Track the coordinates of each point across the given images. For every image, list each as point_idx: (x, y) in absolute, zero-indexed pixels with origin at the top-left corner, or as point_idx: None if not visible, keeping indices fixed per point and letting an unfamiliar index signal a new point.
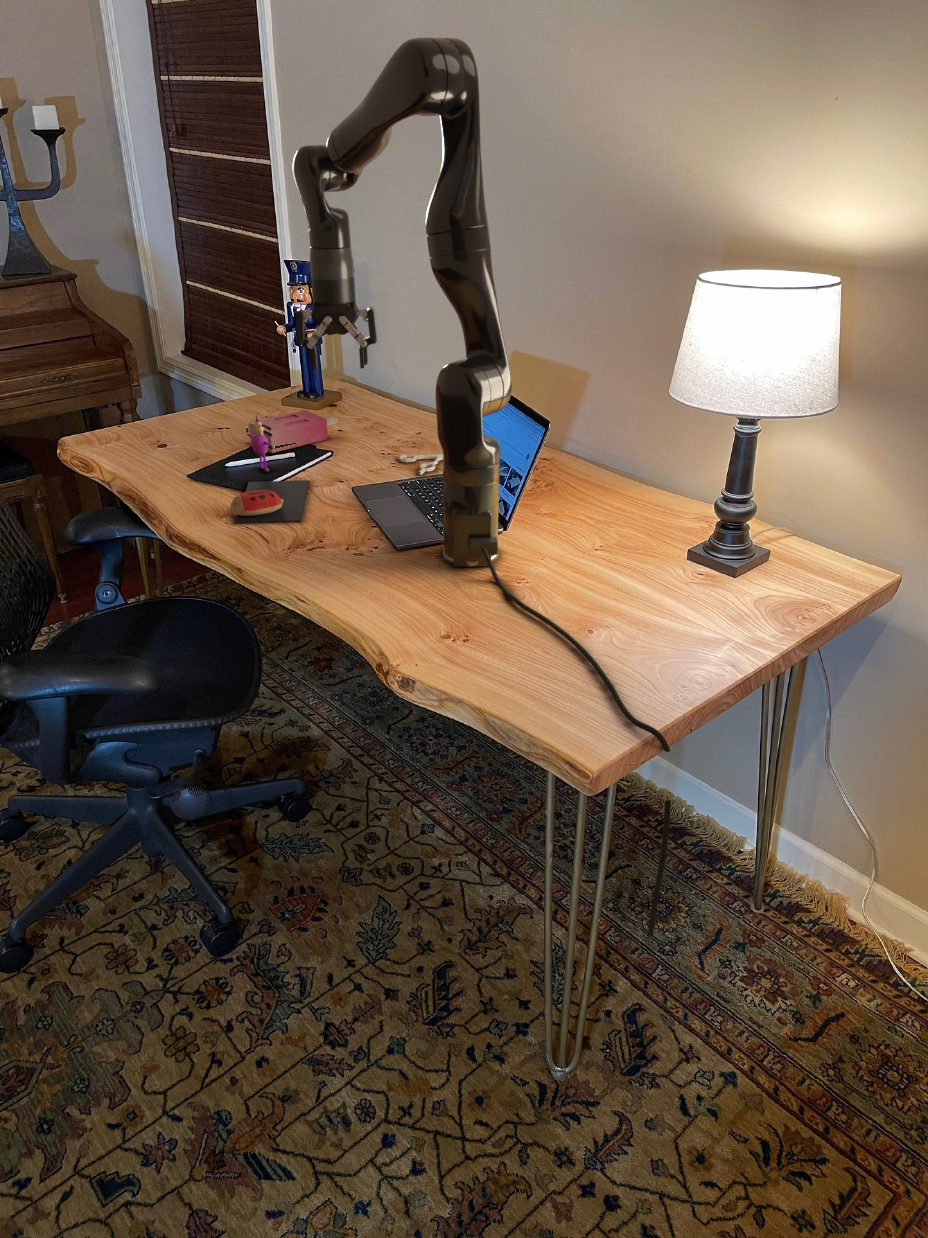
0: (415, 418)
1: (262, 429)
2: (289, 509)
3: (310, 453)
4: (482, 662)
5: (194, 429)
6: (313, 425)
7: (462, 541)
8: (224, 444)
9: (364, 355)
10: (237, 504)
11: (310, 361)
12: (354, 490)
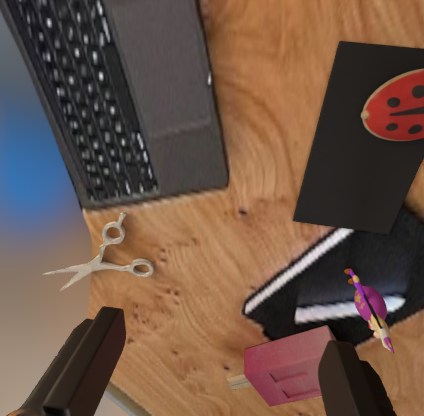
0: (134, 378)
1: (376, 321)
2: (349, 101)
3: (273, 314)
4: None
5: (410, 410)
6: (264, 365)
7: None
8: (384, 363)
9: (68, 362)
10: None
11: (374, 384)
12: (225, 174)
